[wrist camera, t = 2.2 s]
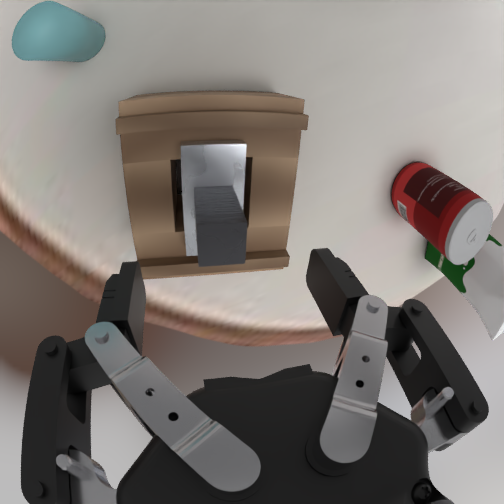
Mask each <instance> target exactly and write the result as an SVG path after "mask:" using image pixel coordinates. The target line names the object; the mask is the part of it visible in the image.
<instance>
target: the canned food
mask: <svg viewBox="0 0 504 504" xmlns="http://www.w3.org/2000/svg"><path fill="white" fill-rule="evenodd" d="M392 202H393V205H394V207H395V209H396V211H397V212H398V214H399V215H400V216H401V217H403V218H404V219H405V220H406V221H407V222H408V223H409V224H410V225H412V226H413V227H414V228H415V229H416V230H417V231H418V232H419V233H420V234H422V235H423V236H424V237H425V238H426V239H427V240H428V241H429V242H430V243H431V244H432V245H433V246H434V247H435V248H436V249H437V250H438V251H439V252H441V253H442V254H443V255H444V256H445V257H446V258H447V259H448V260H449V261H451V262H452V263H453V264H456V265H461V264H464V263H466V262H467V261H469V260H470V259H472V258H473V257H474V256H475V255H476V254H477V253H478V252H479V250H480V249H481V248H482V246H483V245H484V243H485V241H486V239H487V237H488V235H489V232H490V229H491V226H492V221H493V211H492V208H491V206H490V204H489V203H487V202H486V201H485V200H484V199H483V198H481V197H480V196H479V195H477V194H476V193H474V192H473V191H471V190H470V189H468V188H466V187H465V186H463V185H462V184H460V183H459V182H457V181H455V180H454V179H452V178H450V177H449V176H447V175H445V174H444V173H442V172H440V171H439V170H437V169H435V168H433V167H431V166H430V165H428V164H425V163H419V162H418V163H412V164H409V165H407V166H406V167H405V168H403V169H402V170H401V171H400V173H399V174H398V176H397V177H396V179H395V181H394V184H393V188H392Z"/></svg>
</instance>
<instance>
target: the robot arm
mask: <svg viewBox="0 0 504 504" xmlns="http://www.w3.org/2000/svg"><path fill="white" fill-rule="evenodd" d="M306 282H307V286H308V288H309V290H310V292H311V294H312V296H313V298H314V300H315V301H316V303H317V305H318V307H319V309H320V311H321V313H322V315H323V317H324V319H325V321H326V323H327V325H328V326H329V328H330V330H331V332H332V334H333V336H336V335H341V334H342V335H343V337H344V339H343V341H342V344H341V347H340V350H339V353H338V356H337V360H336V363H335V366H334V369H333V371H332V374H331V375H330V374H327V373H323V372H317V371H312V369H311V366H310V364H307V365H302V366H297V367H292V368H287V369H283V370H281V371H279V372H276V373H274V374H272V375H269V376H267V377H264V378H261V379H251V378H250V379H249V378H238V377H225V378H216V379H206V380H204V386H205V387H203V388H200V389H198V390H196V391H193V392H192V393H191V394H189V395H187V396H185V395H184V394H183V393H182V392H180V390H179V389H178V388H176V386H175V385H173V384H172V383H171V382H170V380H169V379H167V378H166V376H164V375H163V373H162V372H161V371H160V370H159V369H158V368H157V367H156V366H155V365H154V364H153V363H152V362H151V361H150V360H149V359H148V358H147V357H142V343H143V327H144V315H145V304H146V293H145V286H144V282H143V277H142V273H141V268H140V264H139V262H138V261H136V262H123V263H122V266H121V270H120V274H112V276H111V277H110V278H109V279H108V280H107V282H106V285H105V288H104V292H103V296H102V300H101V304H100V308H99V312H98V316H97V320H96V324H94V325H92V326H91V327H90V328H89V329H88V330H87V332H86V334H85V337H83V338H81V339H78V340H75V341H71V342H68V343H66V342H65V340H64V339H63V338H62V337H60V336H50V337H47V338H46V339H44V340H43V341H42V342H41V343H40V344H39V346H38V349H37V353H36V357H35V361H34V366H33V370H32V376H31V380H30V386H29V391H28V397H27V404H26V411H25V419H24V427H23V439H22V454H21V489H22V493H23V495H24V497H25V499H26V500H27V501H28V503H29V504H454V503H453V502H452V501H451V500H449V499H448V498H446V497H445V496H444V495H442V494H441V493H440V492H439V491H438V490H437V489H436V488H435V487H434V485H433V484H432V482H431V480H430V477H429V471H428V453H430V452H431V451H433V450H436V451H442V450H444V449H446V448H447V447H449V446H450V445H452V444H453V443H455V442H456V441H458V440H459V439H460V438H462V437H463V436H465V435H466V434H467V433H469V432H470V431H471V430H473V429H474V428H475V427H477V426H478V425H479V424H480V423H482V422H483V421H484V420H485V419H486V418H487V416H488V412H489V409H488V404H487V401H486V399H485V397H484V396H483V394H482V392H481V391H480V389H479V387H478V385H477V383H476V381H475V380H474V378H473V376H472V375H471V373H470V371H469V370H468V368H467V366H466V365H465V363H464V362H463V360H462V358H461V357H460V355H459V354H458V352H457V351H456V349H455V347H454V346H453V344H452V343H451V341H450V340H449V338H448V337H447V335H446V334H445V333H444V331H443V329H442V328H441V326H440V325H439V324H438V322H437V321H436V320H435V318H434V317H433V315H432V314H431V312H430V311H429V310H428V308H427V307H426V306H425V305H424V304H423V303H422V302H420V301H418V300H415V299H408V300H406V301H405V302H404V303H403V305H402V307H390V306H387V304H386V303H385V302H384V301H383V300H382V299H381V298H379V297H377V296H373V295H369V294H368V292H367V291H366V290H365V288H364V287H363V285H362V284H361V283H360V281H359V280H358V278H357V277H355V274H354V273H353V272H351V269H350V268H349V266H348V265H347V264H346V263H345V262H344V261H342V260H341V259H340V258H338V257H337V258H335V257H334V255H333V254H332V252H331V251H330V250H329V249H328V248H322V249H313V250H312V251H311V254H310V259H309V264H308V269H307V274H306ZM413 341H414V342H415V343H416V345H417V346H418V348H419V350H420V352H421V360H420V358H419V356H418V355H417V353H416V351H415V349H414V348H413V346H412V343H413ZM386 357H387V358H388V360H389V362H390V364H391V366H392V368H393V370H394V372H395V374H396V376H397V378H398V380H399V382H400V384H401V386H402V388H403V390H404V392H405V395H406V397H407V399H408V401H409V403H410V405H411V407H412V410H411V420H409V419H407V418H405V417H403V416H402V415H399V414H398V413H396V412H394V411H393V410H391V409H389V408H387V407H386V406H384V405H382V404H381V403H379V402H377V401H378V397H379V391H380V386H381V382H382V376H383V371H384V365H385V359H386ZM109 384H110V385H111V386H112V388H113V389H114V390H115V392H116V393H117V394H118V396H119V397H120V398H121V400H122V401H123V402H124V404H125V405H126V406H127V407H128V409H129V410H130V411H131V412H132V413H133V415H134V416H135V417H136V419H137V420H138V421H139V422H140V424H141V425H142V426H143V427H144V428H145V430H146V431H147V432H148V433H149V434H150V435H151V436H152V437H153V438H152V440H151V441H150V443H149V444H148V445H147V447H146V448H145V449H144V450H143V452H142V453H141V454H140V456H139V457H138V459H137V460H136V461H135V462H134V464H133V465H132V466H131V468H130V469H129V470H128V472H127V473H126V474H125V475H124V477H123V478H122V480H121V481H120V483H119V485H118V488H117V489H114V488H112V487H111V485H110V484H109V482H108V480H107V478H106V474H105V471H104V469H103V468H102V466H101V465H100V464H98V463H97V462H96V461H94V460H93V459H91V434H90V433H91V432H90V431H91V430H90V429H91V428H90V427H91V424H90V422H91V393H92V389H95V388H99V387H102V386H105V385H109Z"/></svg>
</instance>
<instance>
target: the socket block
mask: <svg viewBox="0 0 504 504" xmlns="http://www.w3.org/2000/svg"><path fill="white" fill-rule="evenodd" d="M303 110H304V99H300V98H296V97H292V96H288V95H283V94H279V93H272V92H255V91H182V92H166V93H153V94H143V95H136V96H133V97H131V98H128V99H125V100H122V101H120V102H119V117H118V118H116V134H117V135H118V134H120V137H121V150H122V161H123V170H124V179H125V187H126V195H127V202H128V209H129V215H130V222H131V228H132V234H133V239H134V245H135V250H136V255H137V261H138V262H139V264H140V268H141V273H142V277H143V279H156V278H172V277H186V276H200V275H214V274H227V273H240V272H252V271H265V270H276V269H283V267H288V264H289V258H290V256H289V254H288V252H287V250H286V247H287V240H288V233H289V225H290V218H291V211H292V203H293V196H294V188H295V180H296V172H297V164H298V155H299V147H300V138H301V130H307V126H308V117H309V116H308V115H305V114H303ZM206 140H244V141H245V143H246V144H247V147H246V165H245V185H244V205H243V212H244V215H245V217H246V220H247V241H246V259H245V264H234V265H220V266H206V267H199V266H198V255H196V256H186V243H185V230H184V215H183V198H182V194H181V195H177V178H176V159H181V142H183V141H206Z"/></svg>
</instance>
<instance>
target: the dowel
mask: <svg viewBox="0 0 504 504" xmlns="http://www.w3.org/2000/svg"><path fill="white" fill-rule="evenodd" d="M104 41H105V31H104V28H103V27H102V25H101V24H99V23H98V22H96V21H94V20H92V19H90V18H88V17H86V16H84V15H82V14H80V13H78V12H76V11H74V10H72V9H70V8H68V7H66V6H63V5H61V4H59V3H57V2H54V1H45V2H41V3H39V4H36V5H35V6H33V7H32V8H30V9H29V10H28V11H27V12H26V13H25V14H24V15H23V16H22V17H21V19H20V20H19V22H18V23H17V25H16V27H15V29H14V32H13V36H12V48H13V51H14V53H15V55H16V56H17V57H18V58H20V59H22V60H28V61H29V60H46V61H72V62H83V61H87V60H89V59H91V58H92V57H94V56H95V55H96V54H97V53H98V52H99V51H100V49H101V48H102V46H103V44H104Z"/></svg>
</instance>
